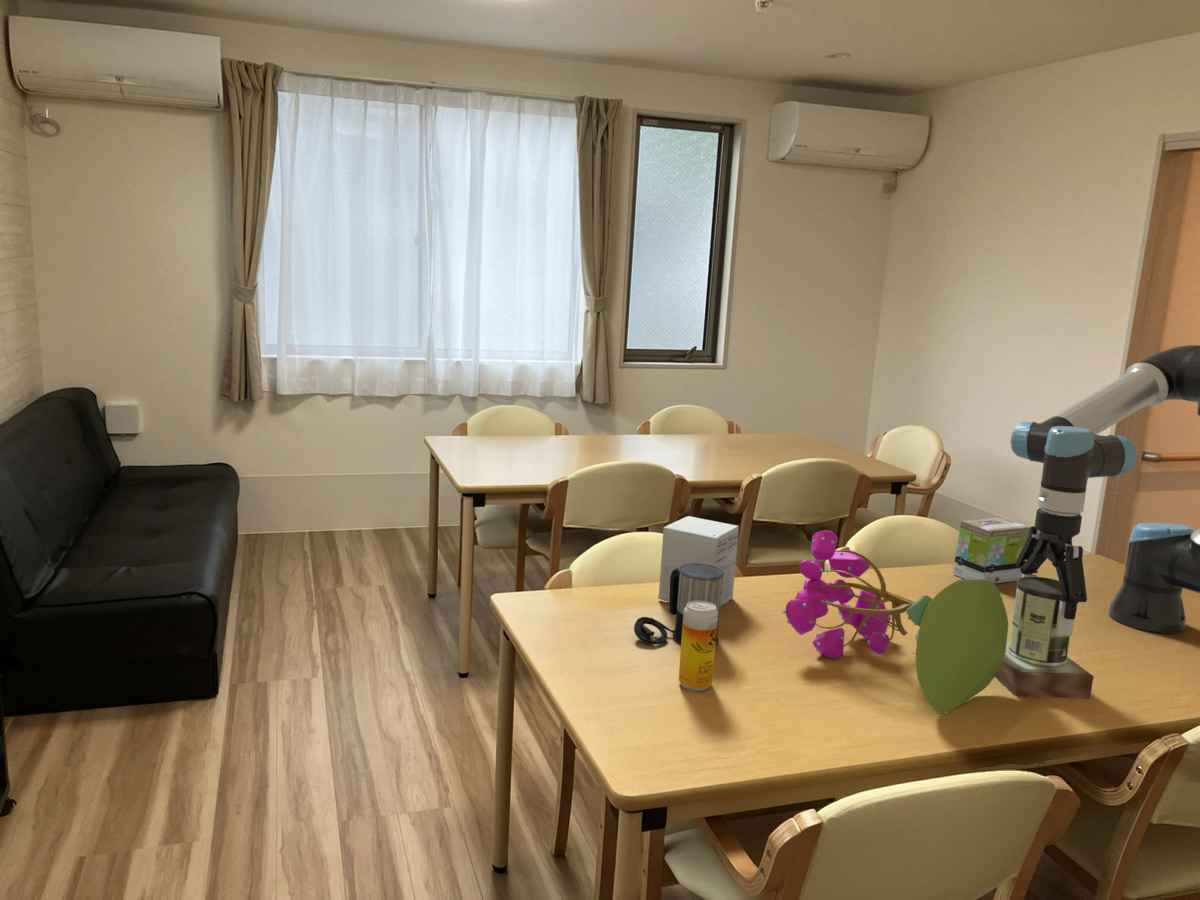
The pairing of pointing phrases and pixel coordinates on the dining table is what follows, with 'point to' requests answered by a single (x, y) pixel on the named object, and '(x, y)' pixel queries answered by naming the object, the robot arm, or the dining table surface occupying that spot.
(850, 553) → the magenta flower sprig
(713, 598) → the milk frother
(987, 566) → the tea box
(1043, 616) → the coffee can
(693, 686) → the beer can
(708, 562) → the supplement box
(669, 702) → the dining table surface
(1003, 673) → the tray
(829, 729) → the dining table surface
